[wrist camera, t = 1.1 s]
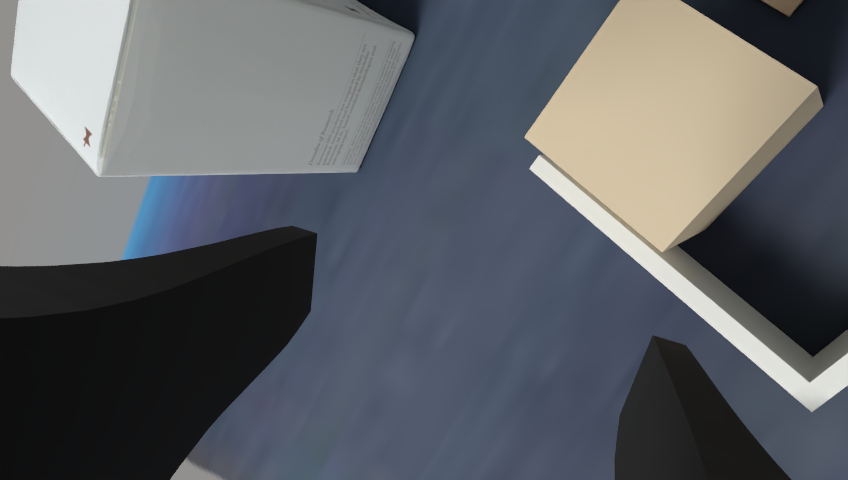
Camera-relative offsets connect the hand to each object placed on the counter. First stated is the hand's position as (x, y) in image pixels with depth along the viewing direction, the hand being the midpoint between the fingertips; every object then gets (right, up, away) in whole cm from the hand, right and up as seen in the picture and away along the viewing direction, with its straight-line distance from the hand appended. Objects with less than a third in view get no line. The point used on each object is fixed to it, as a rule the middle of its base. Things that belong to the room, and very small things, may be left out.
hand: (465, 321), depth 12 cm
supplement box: (-5, +10, +17) cm, 20 cm away
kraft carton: (+8, +6, +8) cm, 13 cm away
